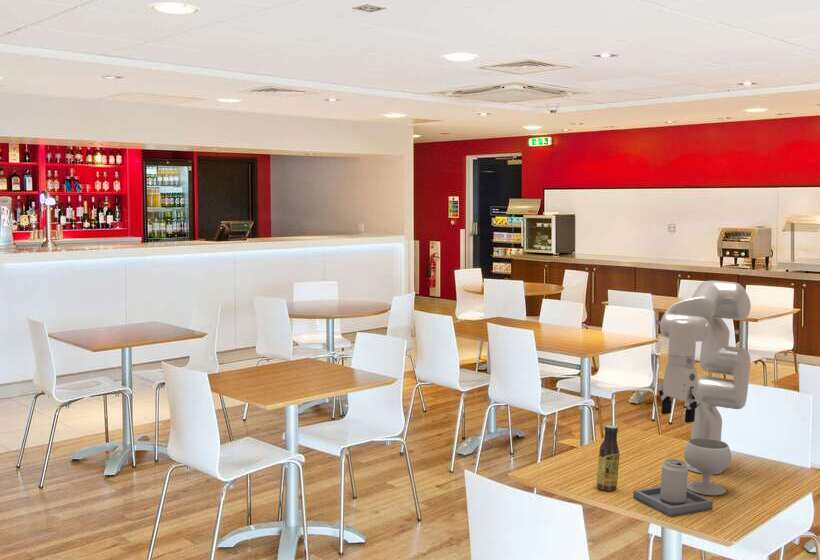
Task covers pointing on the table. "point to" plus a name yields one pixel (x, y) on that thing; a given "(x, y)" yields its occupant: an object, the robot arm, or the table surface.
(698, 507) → the tray
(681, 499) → the can
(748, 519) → the table surface
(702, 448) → the chalice
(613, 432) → the sauce bottle
